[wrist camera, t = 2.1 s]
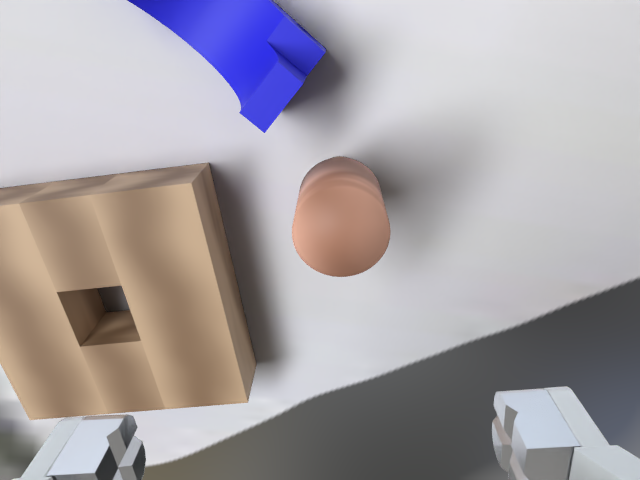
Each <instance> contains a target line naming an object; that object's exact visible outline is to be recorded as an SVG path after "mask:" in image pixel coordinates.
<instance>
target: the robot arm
mask: <svg viewBox="0 0 640 480" xmlns="http://www.w3.org/2000/svg"><path fill="white" fill-rule="evenodd" d="M494 408H495V410H496V412H497V415H498V416H497V417H496V418H495V419H494V420H493V422H492V437H493V445H494V449H495V453H496V456H497V459H498V462H499V464H500V467H502V468H503V469H504V470H505V471H507V472H508V473H509V475H508V476H509V477H508V480H640V459H639V458H637V457H636V456H634V455H632V454H631V453H629V452H628V451H626V450H624V449H623V448H621V447H619V446H618V445H611V446H610V445H609V443H608V442H607V440H606V439H605V438H604V436H603V435H602V433H601V432H600V430H599V429H598V427H597V426H596V425H595V423H594V422H593V420H592V419H591V417H590V416H589V414H588V413H587V411H586V410H585V409H584V407H583V405H582V404H581V403H580V401H579V400H578V398H577V397H576V395H575V394H574V392H573V391H572V389H570V388H568V387H567V386H566V387H552V388H543V389H528V390H514V391H500V392H496V394H495V397H494ZM136 429H137V425H136V422H135V419H134V417H133V416H131V415H103V416H86V417H66V418H64V419H62V420H61V421H59V422H58V424H57V425H56V427H55V428H54V430H53V431H52V433H51V434H50V436H49V437H48V439H47V440H46V441H45V443H44V444H43V446H42V447H41V449H40V450H39V452H38V453H37V455H36V456H35V458H34V459H33V460H32V462H31V463H30V465H29V466H28V468H27V469H26V471H25V472H24V474H23V475H22V477H21V478H16V479H12V480H142V477H143V475H144V469H145V462H146V456H145V449H144V445H143V442H142V441H141V440H139V439H138V438H137V437H136V436H134V433H135V431H136Z"/></svg>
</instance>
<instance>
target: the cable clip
mask: <svg viewBox="0 0 640 480" xmlns="http://www.w3.org/2000/svg"><path fill="white" fill-rule="evenodd" d="M128 1H129V2H131V3H133V4H134V5H136V6H137V7H139V8H141V9H142V10H144V11H145V12H147V13H148V14H150V15H151V16H152V17H154V18H155V19H157V20H158V21H160V22H161V23H162V24H164V25H165V26H166V27H168V28H169V29H170V30H172V31H173V32H174V33H176V34H177V35H178V36H179V37H181V38H182V39H183V40H184V41H186V42H187V43H188V44H189V45H190V46H192V47H193V48H194V49H195V50H196V51H197V52H199V53H200V54H201V55H202V56H203V57H204V58H205V59H206V60H207V61H208V62H209V63H210V64H211V65H212V66H213V67H214V68H215V69H216V70H217V71H218V72H219V73H220V74H221V75H222V76H223V77H224V78H225V80H226V81H227V82H228V83H229V84H230V86H231V87H232V88H233V90H234V91H235V93H236V95H237V96H238V98H239V100H240V103H241V111H240V114H242V115H243V116H244V117H245V118H247V119H248V120H249V121H250V122H252V123H253V124H254V125H255V126H257V127H258V128H259V129H260V130H261V131H263V132H264V133H265V132H266V130H267V129H268V128H269V127H270V125H271V124H272V123H273V122H274V120H275V119H276V118H277V116H278V115H279V114H280V113H281V111H282V110H283V109H284V108H285V106H286V105H287V104H288V102H289V101H290V100H291V99H292V97H293V96H294V95H295V94H296V92H297V91H298V90H299V88H300V87H301V86H302V85H303V83H304V81H305V79H306V77H307V75H308V74H309V73H310V72H311V70H312V69H313V68H314V67H315V65H316V64H317V63H318V61H319V60H320V59H321V58H322V56H323V55H324V54H325V52H326V48H324V47H323V46H322V45H321V44H320V43H319V42H318V41H317V40H316V39H314V38H313V37H312V36H311V35H310V34H309V33H308V32H307V31H306V30H305V29H303V28H302V27H301V26H300V25H299V24H298V23H297V22H296V21H295V20H293V19H292V18H291V17H290V16H289V15H288V14H287V13H286V12H285V11H284V10H282V9H281V8H280V7H279V6H278V5H277V4H276V3H275V2H274V1H272V0H128Z"/></svg>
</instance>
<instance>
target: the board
mask: <svg viewBox="0 0 640 480" xmlns="http://www.w3.org/2000/svg"><path fill="white" fill-rule="evenodd" d="M112 286H122V288H123V291H124V294H125V297H126V300H127V302H128V305H129V308H130V310H126V311H116V312H106V310H105V308H104V305H103V302H102V300H101V297H100V295H99V292H98V289H97V288H102V287H112ZM0 364H1V366H2V368H3V369H4V371H5V373H6V375H7V377H8V379H9V381H10V383H11V385H12V387H13V389H14V391H15V392H16V394H17V396H18V398H19V400H20V402H21V404H22V406H23V408H24V410H25V412H26V414H27V415H28V417H29V419H30V420H36V419H49V418H61V417H74V416H86V415H99V414H111V413H124V412H136V411H149V410H161V409H174V408H186V407H199V406H211V405H224V404H236V403H248V399H249V395H250V391H251V386H252V382H253V377H254V373H255V368H256V360H255V356H254V352H253V348H252V343H251V339H250V335H249V331H248V326H247V322H246V318H245V314H244V309H243V305H242V301H241V297H240V293H239V288H238V284H237V280H236V276H235V271H234V267H233V263H232V259H231V254H230V250H229V246H228V242H227V237H226V233H225V229H224V225H223V221H222V216H221V212H220V208H219V204H218V199H217V195H216V191H215V187H214V182H213V178H212V174H211V170H210V165H209V163H202V164H194V165H186V166H178V167H170V168H161V169H153V170H145V171H137V172H129V173H121V174H112V175H104V176H96V177H88V178H80V179H72V180H64V181H55V182H47V183H39V184H31V185H23V186H15V187H7V188H0Z"/></svg>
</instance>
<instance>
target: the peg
mask: <svg viewBox="0 0 640 480" xmlns="http://www.w3.org/2000/svg"><path fill="white" fill-rule="evenodd" d="M292 238H293V243H294V246H295V249H296V251H297V253H298V254H299V256H300V257H301V259H302V260H303V261H304V262H305V263H306V264H307V265H308V266H310V267H311V268H313V269H314V270H316V271H318V272H320V273H323V274H326V275H330V276H337V277H346V276H352V275H356V274H359V273H362V272H364V271H366V270H368V269H369V268H371V267H372V266H373V265H375V264H376V263H377V262H378V261H379V260H380V258H381V257H382V256H383V254H384V253H385V251H386V249H387V247H388V243H389V240H390V224H389V220H388V216H387V212H386V208H385V205H384V201H383V197H382V193H381V189H380V186H379V183H378V180H377V178H376V177H375V175H374V173H373V172H372V171H371V170H370V169H369V168H368V167H367V166H365V165H364V164H362V163H361V162H359V161H357V160H354V159H350V158H347V157H341V156H338V157H333V158H330V159H327V160H324V161H322V162H320V163H318V164H317V165H315V166H314V167H313V168H312V169H311V170H310V171H309V172H308V173H307V174H306V176H305V177H304V179H303V181H302V184H301V187H300V191H299V196H298V201H297V206H296V211H295V216H294V221H293V226H292Z"/></svg>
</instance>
